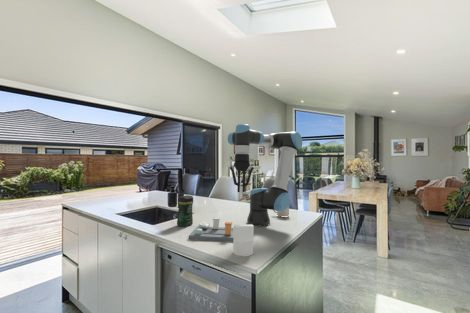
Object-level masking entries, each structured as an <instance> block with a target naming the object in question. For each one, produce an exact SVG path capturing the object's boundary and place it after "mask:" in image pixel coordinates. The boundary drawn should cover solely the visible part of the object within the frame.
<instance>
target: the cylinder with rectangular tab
mask: <svg viewBox="0 0 470 313" xmlns="http://www.w3.org/2000/svg"><path fill="white" fill-rule="evenodd" d="M233 228H234V236H233V242H232V243H233V244H232V246H233V247H232V248H233V249H232V252H233V254H234V255H236V256H238V257H248V256H251V255H253V254H254V231H255V230H254V225H252V224H248V223H247V224H233Z"/></svg>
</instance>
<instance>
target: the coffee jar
mask: <svg viewBox="0 0 470 313" xmlns="http://www.w3.org/2000/svg"><path fill="white" fill-rule="evenodd" d="M193 196H194V195H187V194H186V195H182V196H179V197H178V199H177V204H178V211H177V218H176V219H177V220H176V225H177V226H178V227H181V228H182V227H189V226H192V225H193V222H194V221H193V220H194V219H193V204H194V197H193Z"/></svg>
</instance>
